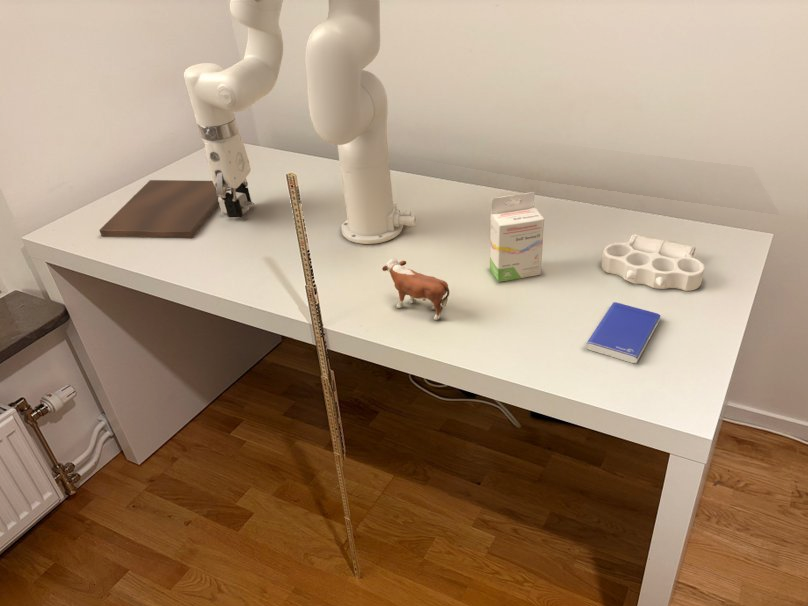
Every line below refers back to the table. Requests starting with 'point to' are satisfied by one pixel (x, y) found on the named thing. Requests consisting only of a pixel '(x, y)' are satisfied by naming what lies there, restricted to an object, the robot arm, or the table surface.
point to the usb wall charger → (242, 199)
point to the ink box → (516, 237)
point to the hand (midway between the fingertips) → (240, 209)
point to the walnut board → (165, 210)
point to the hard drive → (623, 332)
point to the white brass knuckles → (654, 263)
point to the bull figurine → (417, 286)
